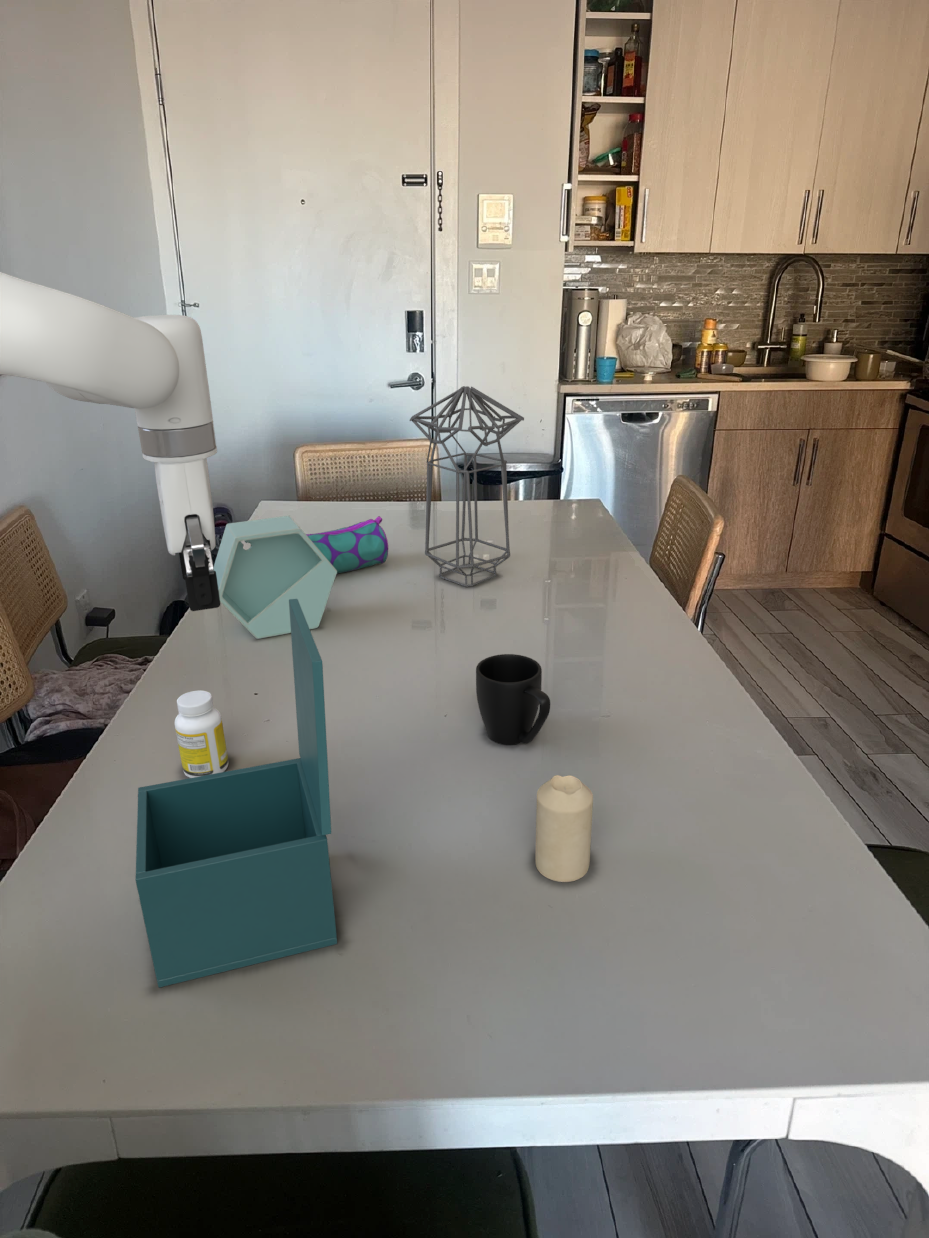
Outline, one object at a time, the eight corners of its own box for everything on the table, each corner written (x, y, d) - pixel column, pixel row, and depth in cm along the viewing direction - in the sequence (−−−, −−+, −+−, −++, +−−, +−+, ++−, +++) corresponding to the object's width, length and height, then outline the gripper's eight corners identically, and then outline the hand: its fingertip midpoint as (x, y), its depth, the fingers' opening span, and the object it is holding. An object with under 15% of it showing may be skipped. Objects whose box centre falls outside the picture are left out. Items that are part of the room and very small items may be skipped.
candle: (557, 890, 85) (560, 805, 81) (524, 859, 90) (525, 777, 86) (600, 869, 88) (605, 787, 84) (566, 840, 92) (570, 760, 88)
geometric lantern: (410, 576, 165) (402, 387, 151) (471, 556, 174) (469, 377, 160) (466, 598, 154) (463, 397, 140) (528, 576, 164) (531, 386, 150)
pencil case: (286, 589, 160) (281, 539, 156) (273, 574, 167) (268, 526, 163) (391, 569, 168) (389, 522, 164) (375, 556, 175) (372, 510, 171)
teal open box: (158, 988, 75) (135, 879, 70) (157, 886, 87) (138, 787, 82) (337, 943, 79) (327, 839, 75) (313, 852, 91) (303, 756, 86)
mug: (514, 772, 104) (515, 703, 100) (464, 728, 114) (463, 663, 110) (570, 753, 108) (573, 685, 104) (517, 711, 117) (518, 648, 114)
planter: (278, 661, 143) (192, 573, 132) (268, 642, 149) (185, 558, 138) (357, 594, 144) (278, 502, 133) (344, 578, 151) (267, 490, 139)
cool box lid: (312, 662, 68) (322, 660, 68) (288, 599, 80) (297, 598, 80) (322, 835, 74) (331, 833, 75) (299, 753, 86) (307, 752, 86)
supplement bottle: (215, 751, 110) (205, 682, 106) (237, 768, 106) (226, 698, 102) (175, 768, 106) (162, 697, 102) (195, 786, 103) (183, 714, 99)
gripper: (138, 428, 97) (162, 572, 104) (143, 462, 82) (171, 627, 89) (207, 422, 99) (226, 563, 106) (224, 454, 85) (245, 616, 91)
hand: (201, 592), depth 98 cm, fingers open, 9 cm apart
